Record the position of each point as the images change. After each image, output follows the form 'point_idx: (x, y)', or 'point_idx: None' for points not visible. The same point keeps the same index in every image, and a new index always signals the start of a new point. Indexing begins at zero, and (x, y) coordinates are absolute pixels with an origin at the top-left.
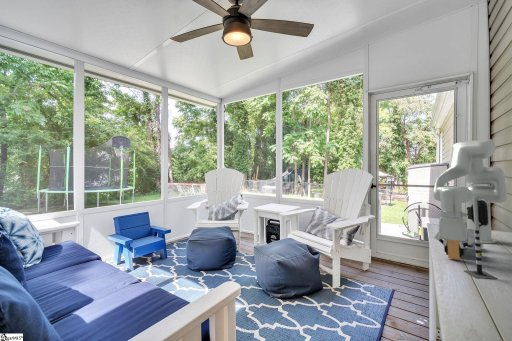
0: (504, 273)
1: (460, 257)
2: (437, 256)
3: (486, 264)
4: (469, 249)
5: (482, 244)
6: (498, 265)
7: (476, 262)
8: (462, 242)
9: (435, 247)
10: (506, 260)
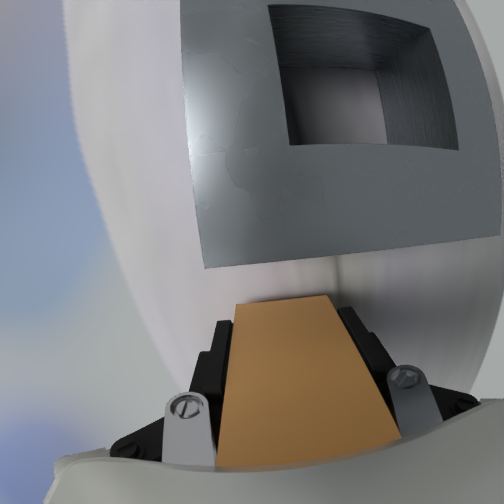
0: (479, 357)
1: (328, 302)
2: (153, 316)
3: (456, 269)
4: (437, 237)
5: None
6: (493, 238)
7: None
8: (425, 425)
9: (73, 39)
10: (498, 88)
